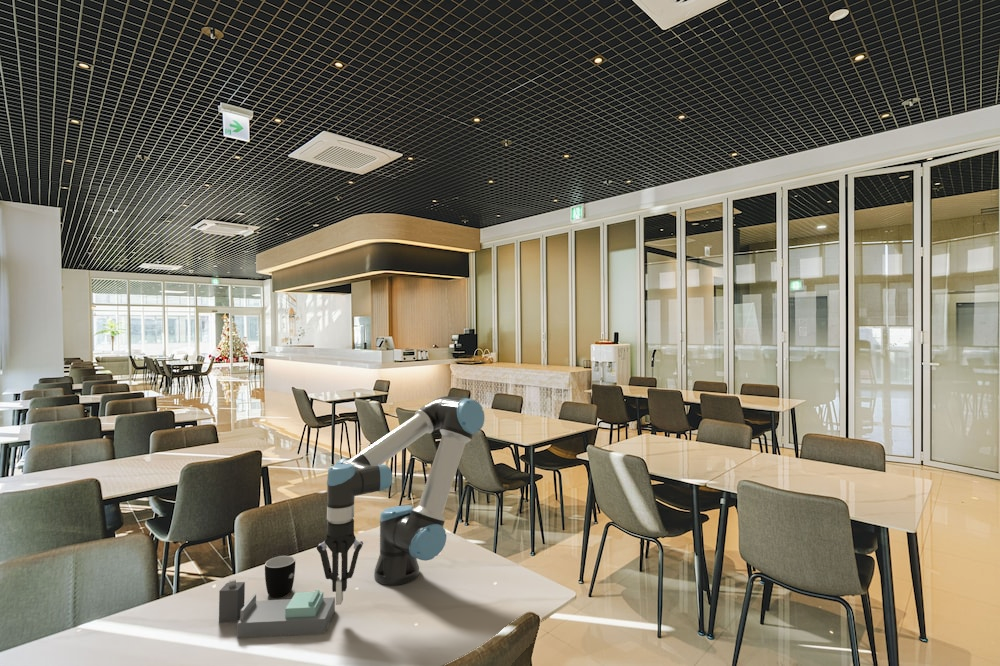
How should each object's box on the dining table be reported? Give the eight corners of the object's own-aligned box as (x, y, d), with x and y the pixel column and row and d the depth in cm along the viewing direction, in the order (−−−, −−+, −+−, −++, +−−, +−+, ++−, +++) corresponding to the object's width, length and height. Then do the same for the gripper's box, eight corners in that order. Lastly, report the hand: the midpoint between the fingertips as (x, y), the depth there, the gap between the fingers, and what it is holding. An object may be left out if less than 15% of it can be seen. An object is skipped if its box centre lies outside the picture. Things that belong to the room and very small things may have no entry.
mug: (290, 599, 156) (291, 566, 157) (260, 601, 155) (261, 568, 155) (300, 581, 168) (300, 551, 169) (271, 583, 167) (272, 552, 167)
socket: (334, 610, 150) (335, 588, 150) (324, 633, 138) (325, 609, 138) (254, 614, 147) (254, 591, 148) (237, 638, 136) (237, 613, 136)
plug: (244, 612, 149) (244, 576, 149) (237, 621, 144) (237, 584, 144) (226, 613, 148) (227, 577, 148) (218, 622, 143) (219, 585, 143)
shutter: (323, 600, 148) (323, 588, 148) (315, 616, 139) (315, 603, 139) (295, 601, 147) (295, 589, 147) (285, 617, 138) (285, 604, 138)
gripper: (365, 514, 149) (364, 594, 148) (320, 515, 148) (319, 596, 147) (361, 523, 142) (360, 607, 141) (313, 524, 140) (312, 610, 140)
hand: (339, 602), depth 144 cm, fingers closed
